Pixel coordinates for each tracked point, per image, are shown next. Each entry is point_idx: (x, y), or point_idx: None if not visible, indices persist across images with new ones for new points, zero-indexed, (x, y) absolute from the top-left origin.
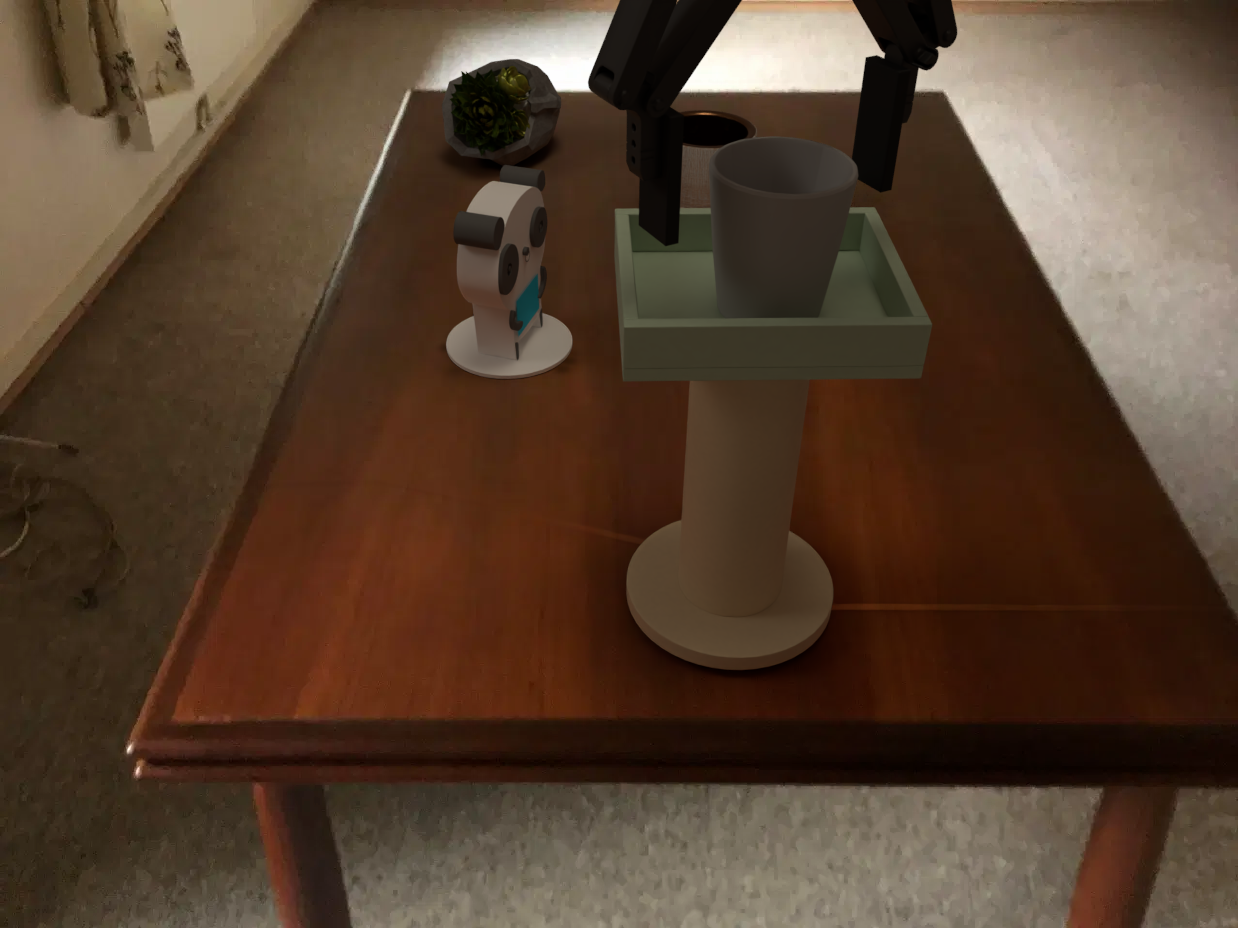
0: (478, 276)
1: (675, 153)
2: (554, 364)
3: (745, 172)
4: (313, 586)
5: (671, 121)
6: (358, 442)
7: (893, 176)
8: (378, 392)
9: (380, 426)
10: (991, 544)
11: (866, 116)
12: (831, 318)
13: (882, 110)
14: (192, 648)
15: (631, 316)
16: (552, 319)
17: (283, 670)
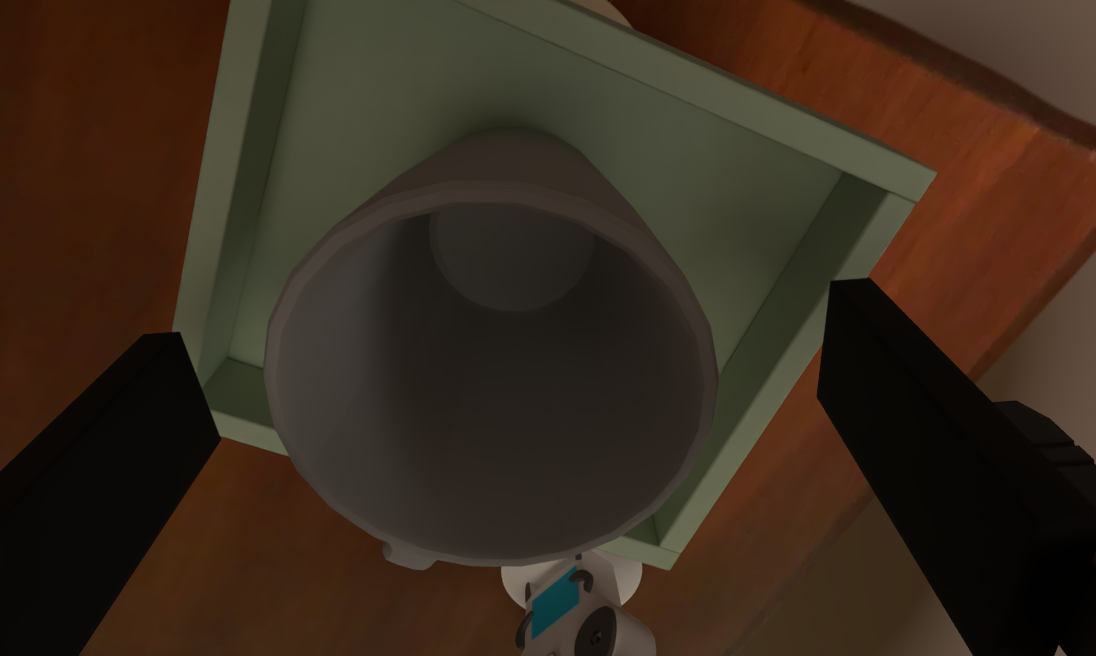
0: (635, 636)
1: (986, 426)
2: None
3: (516, 488)
4: (930, 299)
5: (1092, 509)
6: (787, 480)
7: (122, 355)
8: (733, 542)
9: (756, 494)
10: (167, 51)
11: (121, 537)
12: (492, 10)
13: (68, 514)
14: (1072, 261)
15: (897, 205)
16: (510, 590)
17: (1014, 197)
